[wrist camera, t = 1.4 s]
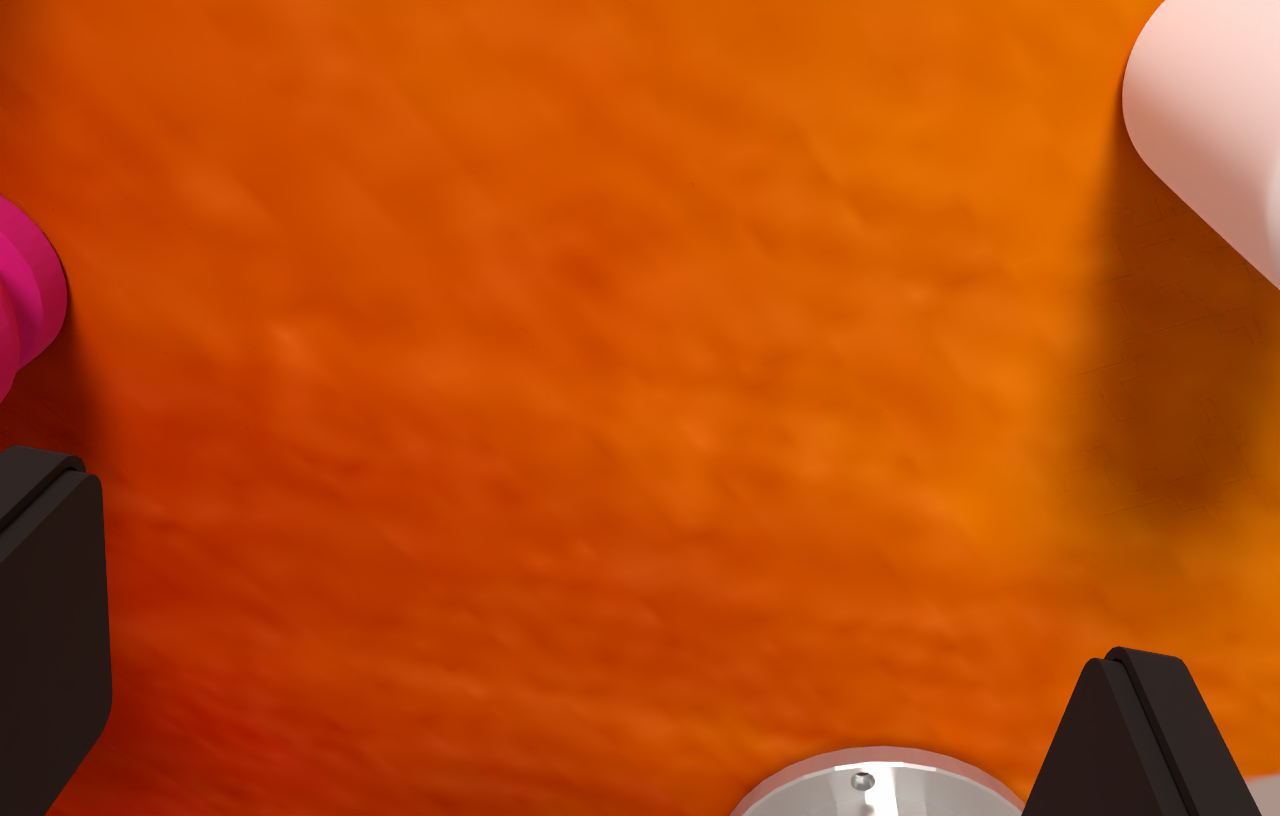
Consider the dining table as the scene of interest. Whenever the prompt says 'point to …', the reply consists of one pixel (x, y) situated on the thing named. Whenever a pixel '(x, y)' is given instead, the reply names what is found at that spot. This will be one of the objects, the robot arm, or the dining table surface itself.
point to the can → (1213, 116)
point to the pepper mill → (26, 293)
